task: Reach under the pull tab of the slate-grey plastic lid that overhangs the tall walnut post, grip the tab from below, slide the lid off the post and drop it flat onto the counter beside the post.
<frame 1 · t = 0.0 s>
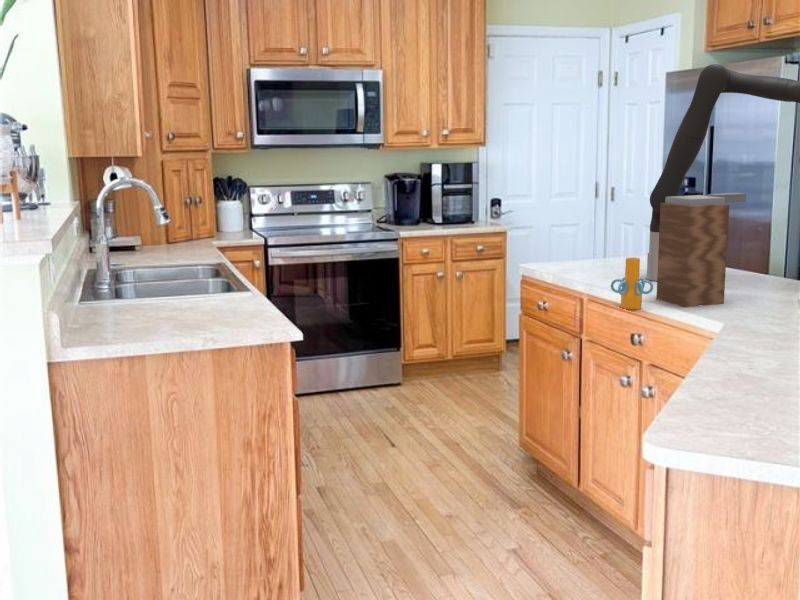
lid: (694, 203, 244), point 30 cm above the worktop, touching post
post: (689, 301, 250), on the worktop
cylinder: (631, 308, 243), on the worktop
grenade: (687, 272, 303), on the worktop
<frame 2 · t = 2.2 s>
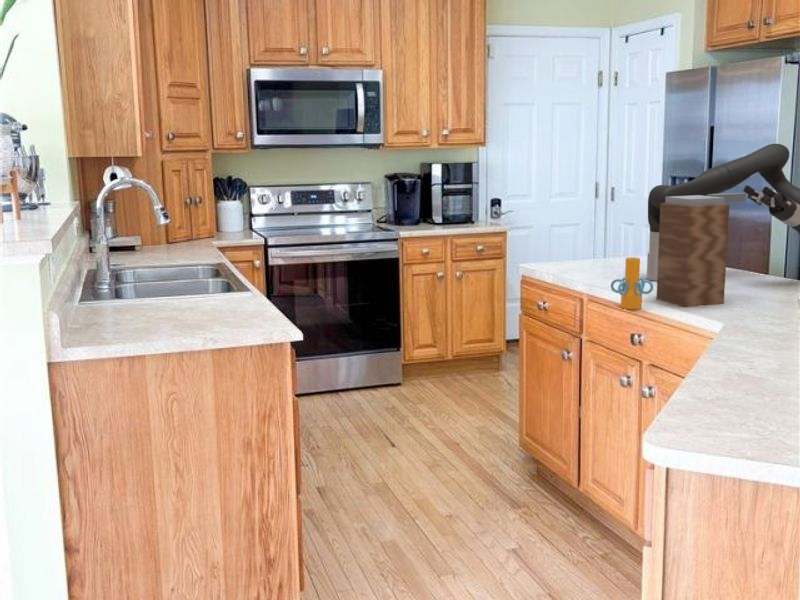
hand: (754, 188, 263), 33 cm above the worktop, tool pointing upward, fingers open, 8 cm apart
nothing on the worktop moved.
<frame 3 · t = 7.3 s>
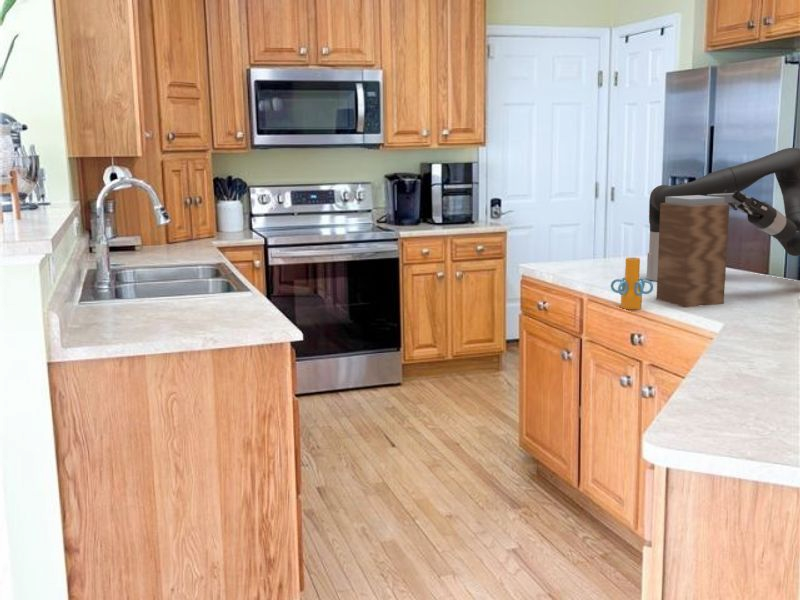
hand: (729, 193, 248), 33 cm above the worktop, tool pointing upward, fingers closed on lid, 4 cm apart
lid: (694, 203, 244), point 30 cm above the worktop, touching gripper, post
everything else where it was.
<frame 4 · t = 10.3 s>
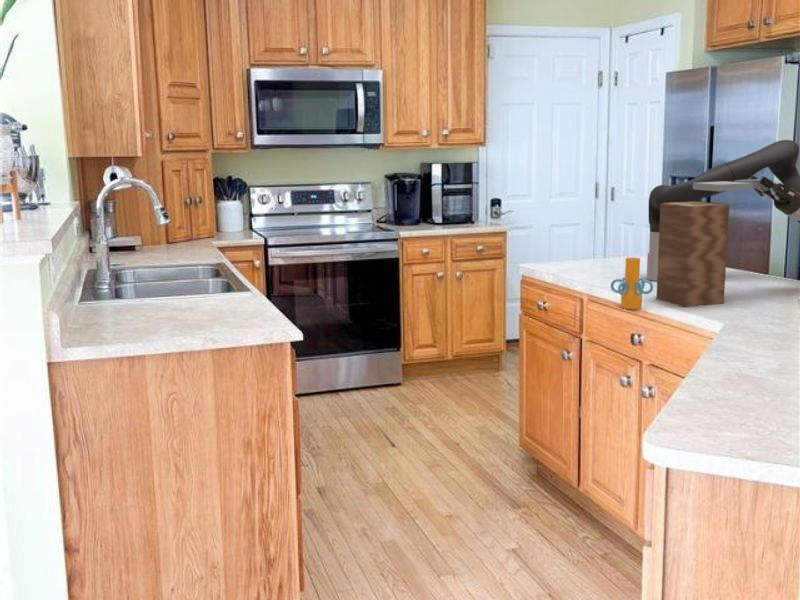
hand: (756, 179, 250), 37 cm above the worktop, tool pointing upward, fingers closed on lid, 4 cm apart
lid: (722, 189, 247), point 34 cm above the worktop, touching gripper
everything else where it was.
when the fingers open (26 cm above the worktop, at t = 13.5 s): lid drops 23 cm, on the worktop.
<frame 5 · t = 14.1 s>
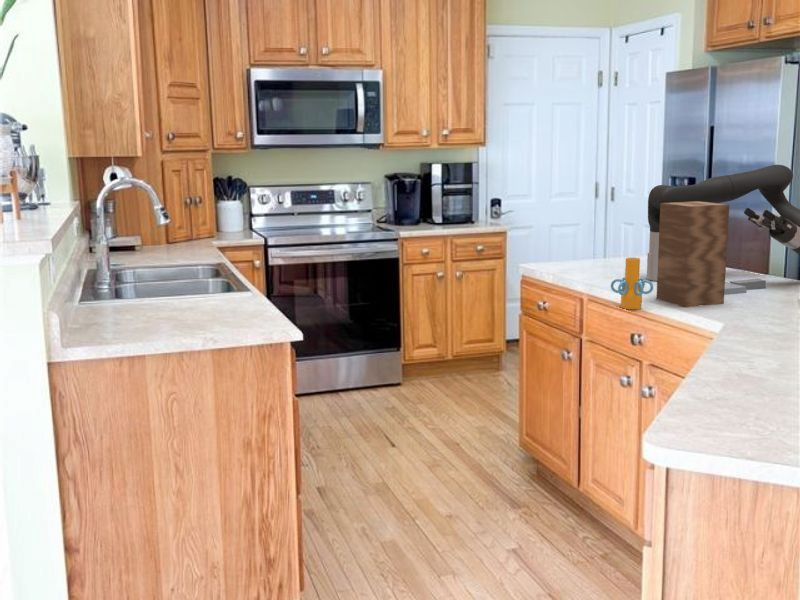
hand: (754, 211, 264), 25 cm above the worktop, tool pointing upward, fingers open, 8 cm apart
lid: (718, 291, 265), on the worktop
everything else where it was.
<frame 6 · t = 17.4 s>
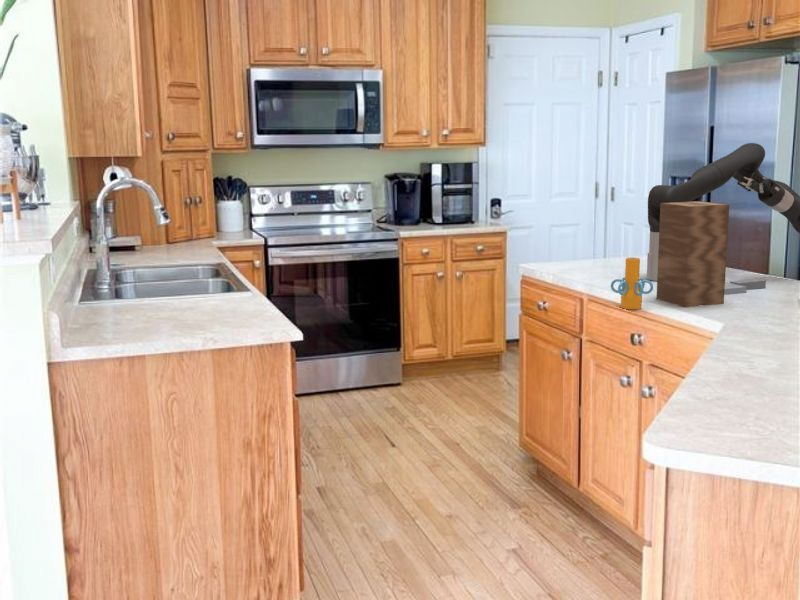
hand: (743, 174, 270), 37 cm above the worktop, tool pointing upward, fingers open, 8 cm apart
nothing on the worktop moved.
at the end: lid on the worktop; lid tilted 1°; lid touching worktop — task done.
